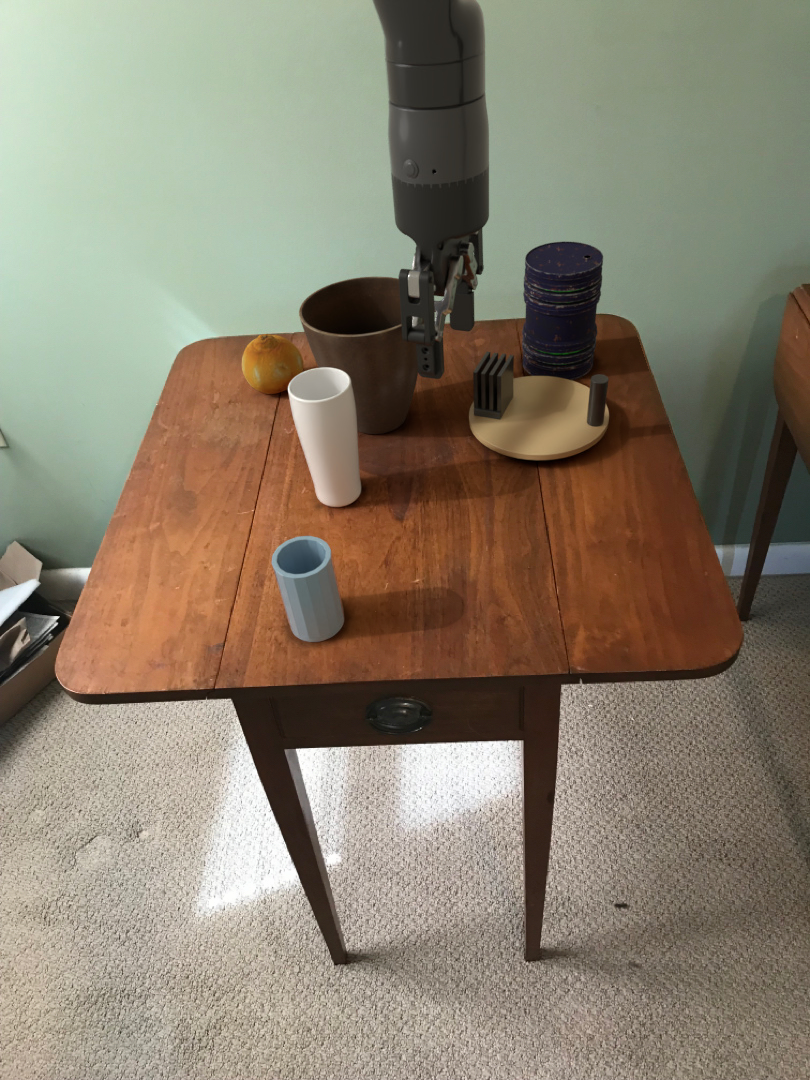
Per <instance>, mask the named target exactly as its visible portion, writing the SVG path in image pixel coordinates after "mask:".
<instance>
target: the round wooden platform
mask: <svg viewBox="0 0 810 1080" xmlns="http://www.w3.org/2000/svg"><path fill="white" fill-rule="evenodd" d="M514 361H515V355H514V354H509V355H508V357H507V354H506V353H501V355H500V356H499V353H498V352H493V354H492V355H491V351H486V352H485V353H484V355H482V357H481V360H480V361H479V362H478V364H477V366H476V367H475V369H474V370H473V371H472V383H473V386H472V387H473V401H472V403H471V405H470V408H469V411H468V423H469V428H470V431H471V433H472V434H473V436H474V437H475V438H476V439H477V441H479V442H480V443H481V444H482V445H484V446H485V447H487V448H488V449H490V450H491V451H494V452H496V453H497V454H500V455H503V456H505V455H506V456H505V457H508V456H510V457H514V458H519V459H526V460H552V459H559V458H563V459H566V458H565V457H567V458H569V457H568V456H570V457H572V456H575V455H578V454H580V453H582V452H584V451H586V450H589V449H590V448H592V447H593V446H595V445H596V444H597V443H598V442H600V440H601V439H602V438H603V437H604V436H605V434H606V432H607V429H608V427H609V421H610V411H609V408H608V405H607V398H608V397H607V396H608V395H607V394H608V388H609V377H608V376H607V375H605V374H601V373H599V374H593V375H592V376H591V377H590V380H589V381H590V382H589V387H588V386H587V385H584V384H582V383H580V382H577V381H575V380H568V379H564V378H559V377H551V376H532V375H529V376H519V377H514V370H515V369H514V367H515V365H514V364H515V362H514ZM510 457H509V458H510ZM514 458H513V459H514ZM559 460H560V459H559Z"/></svg>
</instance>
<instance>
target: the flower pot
mask: <svg viewBox="0 0 810 1080" xmlns="http://www.w3.org/2000/svg"><path fill="white" fill-rule="evenodd" d="M298 317H299V320H300V323H301V326H302V328H303V332H304V335H305V337H306V340H307V343H308V345H309V346H308V347H309V348H310V351H311V353H312V356H313V358H314V361H315V363H316V366H317V368H323V367H328V368H336V369H339V370H342V371H344V372H345V373H347V374H348V375H349V377H350V379H351V383H352V388H353V393H354V398H355V405H356V414H357V431H358V432H359V433H362V434H366V435H382V434H387V433H389V432H392V431H395V430H397V429H398V428H399V427H401V426H402V425H403V424H404V422H405V421H406V419H407V417H408V414H409V410H410V406H411V404H412V400H413V396H414V393H415V389H416V385H417V380H418V376H419V373H418V365H417V352H416V343H408V342H403V340H402V326H401V309H400V293H399V277H398V278H397V277H391V276H390V277H389V276H376V275H375V276H361V277H354V278H348V279H344V280H340V281H336V282H334V283H330V284H328V285H325V286H323V287H321V288H319V289H317V290H316V291H314V292H313V293H311V294H310V295H309V296H307V297H306V298H305V299H304V300H303V302H302V303H301V305H300V306H299V310H298ZM412 320H413V317H412ZM422 325H424V320H423V322H422Z"/></svg>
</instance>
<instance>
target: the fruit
mask: <svg viewBox="0 0 810 1080" xmlns="http://www.w3.org/2000/svg"><path fill="white" fill-rule="evenodd" d="M241 369H242V373H243V376H244V378H245V381H247V383H248V384H249V385H250V387H252V388H253V389H254V390H255V391H257V392H259V393H262V394H266V395H273V394H278V393H282V392H285V391H288V385H289V383H290V382H291V380H292V379H293V378H294V377H296V376H297V375H298V374H300V373H302V372H304V359H303V356H302V353H301V351H300V350H299V348H298V347H297V346H296V345H295V343H293V342H291V341H290V340H289V339H287V338H286V337H284V336H281V335H278V334H269V333H265V334H263V333H261V334H260V335H258V336H257V337H256V338H254V339H253V340H251V341H250V342H249V343H248V344H247V345H246V347H245V349H244V350H243V353H242V356H241Z"/></svg>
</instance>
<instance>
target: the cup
mask: <svg viewBox="0 0 810 1080" xmlns="http://www.w3.org/2000/svg"><path fill="white" fill-rule="evenodd" d="M271 567H272V570H273V573H274V577H275V581H276V585H277V588H278V591H279V594H280V598H281V601H282V605H283V609H284V611H285V616H286V618H287V622H288V625H289V628H290V630H291V632H292V634H293V635H294V636H295V638H297V639H299V640H301V641H303V642H307V643H320V642H323V641H326V640H329V639H331V638H333V637H334V636H335V635H336V634H338V632H340V631H341V629H342V627H344V626H343V625H344V623H345V612H344V611H345V609H344V606H343V601H342V596H341V591H340V586H339V581H338V576H337V572H336V567H335V562H334V558H333V552H332V549H331V547H330V545H329V543H328V542H327V541H326V540H324V539H322V538H320V537H317V536H312V535H300V536H299V535H298V536H295V537H293V538H290V539H288V540H285V541H284V542H283V543H281V544H280V545H278V546H277V548H276V549H275V550H274V552H273V553H272V555H271Z"/></svg>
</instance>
